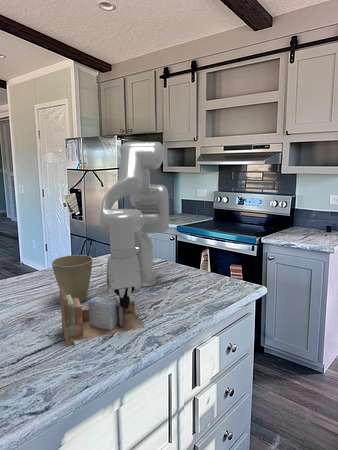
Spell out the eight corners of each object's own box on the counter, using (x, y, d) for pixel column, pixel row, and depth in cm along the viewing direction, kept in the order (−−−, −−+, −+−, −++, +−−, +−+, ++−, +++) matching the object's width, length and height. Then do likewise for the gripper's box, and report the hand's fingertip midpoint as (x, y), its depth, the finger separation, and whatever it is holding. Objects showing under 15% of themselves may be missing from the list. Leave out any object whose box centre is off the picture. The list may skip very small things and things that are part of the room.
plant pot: (62, 292, 144) (59, 254, 141) (98, 292, 143) (96, 254, 140) (48, 308, 129) (45, 266, 126) (89, 308, 129) (86, 266, 126)
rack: (134, 315, 123) (132, 275, 120) (145, 330, 112) (144, 287, 109) (62, 328, 114) (59, 286, 111) (66, 346, 103) (63, 300, 100)
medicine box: (118, 324, 113) (117, 299, 111) (110, 331, 109) (109, 304, 107) (97, 321, 116) (95, 295, 114) (89, 327, 112) (87, 301, 110)
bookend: (116, 317, 118) (115, 297, 117) (123, 327, 111) (122, 306, 110) (113, 318, 118) (112, 298, 116) (119, 328, 111) (119, 307, 109)
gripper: (141, 247, 117) (143, 299, 121) (96, 252, 111) (99, 307, 115) (149, 252, 110) (150, 307, 114) (101, 258, 105) (104, 316, 108)
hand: (124, 307), depth 114 cm, fingers closed
